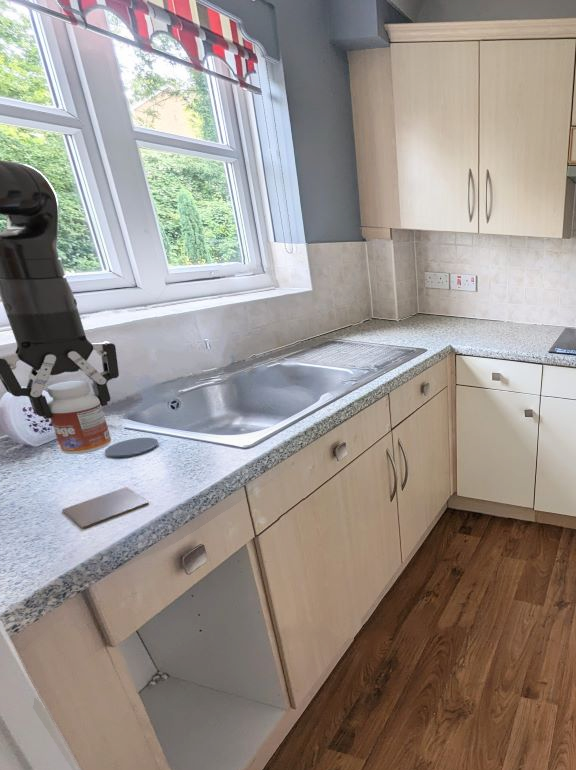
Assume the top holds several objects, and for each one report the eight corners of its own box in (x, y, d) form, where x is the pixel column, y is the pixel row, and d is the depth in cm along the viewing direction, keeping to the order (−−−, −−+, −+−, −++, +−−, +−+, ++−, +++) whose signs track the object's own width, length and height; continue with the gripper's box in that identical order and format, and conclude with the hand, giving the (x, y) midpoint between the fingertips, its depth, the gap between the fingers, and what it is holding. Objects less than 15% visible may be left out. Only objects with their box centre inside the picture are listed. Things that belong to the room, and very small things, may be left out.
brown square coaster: (82, 529, 74) (82, 527, 74) (62, 511, 78) (61, 509, 78) (149, 504, 81) (148, 502, 81) (127, 488, 85) (126, 486, 85)
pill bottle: (52, 451, 74) (29, 387, 70) (96, 437, 80) (77, 377, 76) (78, 458, 72) (56, 393, 68) (121, 443, 78) (103, 382, 74)
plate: (115, 462, 94) (114, 459, 94) (98, 450, 99) (97, 448, 98) (166, 446, 102) (165, 444, 101) (147, 436, 106) (147, 434, 106)
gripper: (94, 300, 75) (121, 394, 81) (-39, 310, 64) (4, 419, 70) (113, 305, 72) (139, 403, 78) (-23, 317, 60) (20, 431, 66)
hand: (75, 410), depth 74 cm, fingers closed on pill bottle, 6 cm apart
